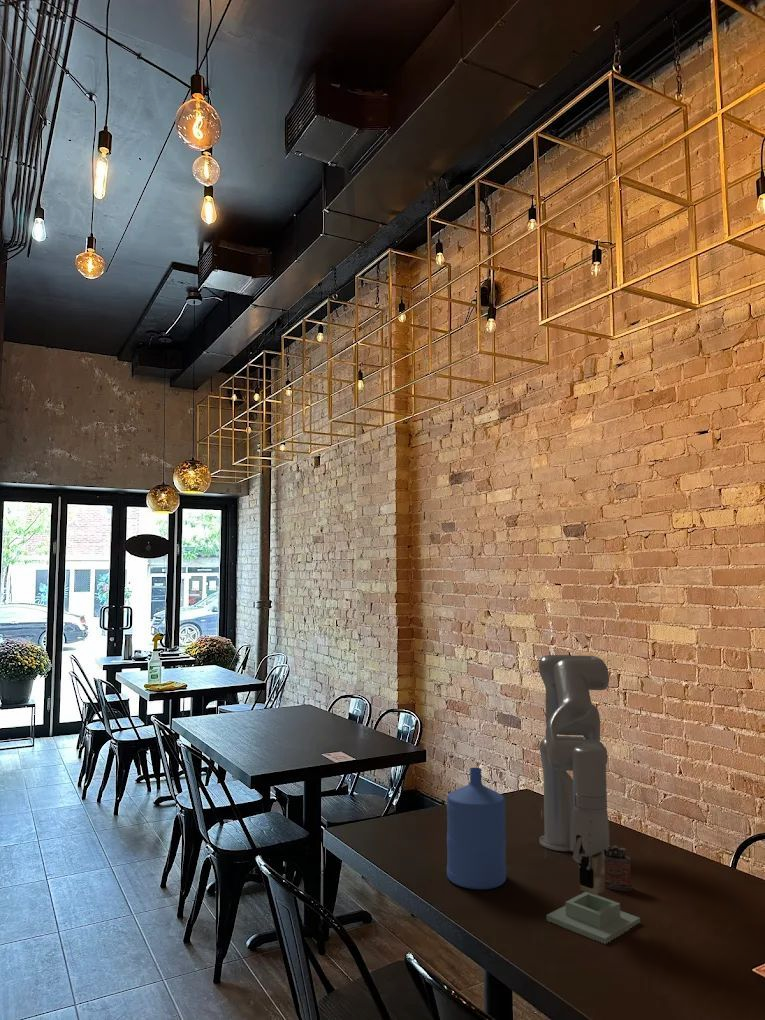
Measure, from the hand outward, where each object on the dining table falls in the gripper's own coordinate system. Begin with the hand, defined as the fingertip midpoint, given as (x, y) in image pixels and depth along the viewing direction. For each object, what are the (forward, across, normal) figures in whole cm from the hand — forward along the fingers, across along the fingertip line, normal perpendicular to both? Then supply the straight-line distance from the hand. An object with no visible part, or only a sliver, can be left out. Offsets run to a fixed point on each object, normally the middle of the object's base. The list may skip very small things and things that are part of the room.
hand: (592, 882), depth 164 cm
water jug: (+9, +1, -34) cm, 35 cm away
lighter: (+9, -22, -7) cm, 25 cm away
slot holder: (+9, 0, 0) cm, 9 cm away
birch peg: (+2, 0, 0) cm, 2 cm away
